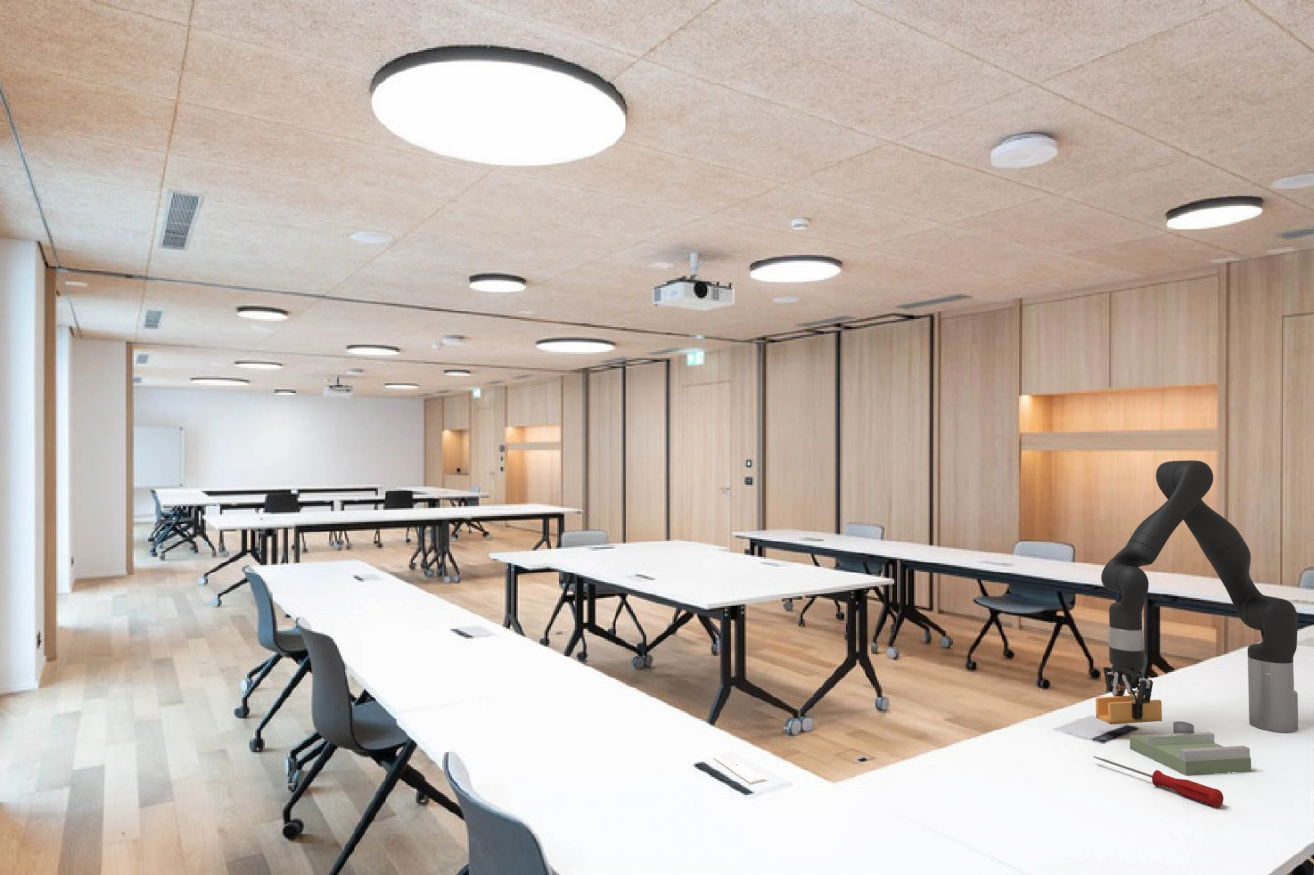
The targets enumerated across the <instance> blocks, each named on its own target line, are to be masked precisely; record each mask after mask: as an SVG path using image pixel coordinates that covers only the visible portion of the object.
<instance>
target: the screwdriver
mask: <svg viewBox="0 0 1314 875" xmlns="http://www.w3.org/2000/svg"><path fill="white" fill-rule="evenodd" d="M1093 758H1094V759H1097V760H1100V761H1102V762H1104V763H1108V764H1111V765H1113V766H1116V767H1119V768H1122V769H1125V770H1128V771H1132V772H1133V773H1137V774H1140V775H1143V776H1145V777H1148V778H1151V782H1152V784H1153V786H1154V787H1164V788H1166V789H1170V790H1172V791H1175V792H1176V793H1178V794H1180V795H1182V796H1183V797H1186V798H1189V799H1191V800H1194V801H1197V802H1200V803H1203V804H1206V805H1209V806H1211V807H1214V808H1220V807H1221V806H1222V805H1223V803H1224V794H1223V792H1222V791H1221V790H1220V789H1218V788H1213V787H1211V786H1207V785H1204V784H1201V783H1198V782H1196V781H1192V780H1190V779H1184V778H1183V779H1182V778H1175V777H1173V776H1169V775H1166V774H1164V773H1163V772H1162V771H1161V770H1158V769H1156V770H1155V769H1154V771H1153V772H1152V774H1150V773H1147V772H1143V771H1141V770H1137V769H1135V768H1132V767H1130V766H1126V765H1123V764H1120V763H1117V762H1114V761H1111V760H1108V759H1105V758H1101V757H1099V756H1093Z"/></svg>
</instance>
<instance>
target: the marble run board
mask: <svg viewBox="0 0 1314 875" xmlns="http://www.w3.org/2000/svg"><path fill="white" fill-rule="evenodd" d="M1172 723H1173V725H1172V726H1173V727H1172V730H1173V733H1193V732H1195V726H1194V724H1193V723H1190V722H1186V721H1179V720H1178V721H1173V722H1172ZM1173 733H1172V734H1173ZM1147 735H1148V734H1138V735H1136V734H1133V735H1129V749H1131V750H1133V751H1134V752H1136V751H1137V753H1139V754H1140V755H1142V756H1144V757H1147V758H1149V759H1151V760H1153V761H1155V762H1158V763H1159V764H1162V765H1164V766H1166V767H1168V768H1170V769H1171V770H1174V771H1176V772H1177V773H1180V774H1182V775H1183V776H1186V777H1187V776H1204V775H1205V776H1206V775H1216V774H1215V773H1224V774H1233V773H1232V772H1241V773H1252V757H1250V758H1232V759H1214V760H1196V761H1184V760H1181V759H1179V749H1191V748H1211V747H1224V745H1221V744H1218V743H1216V742H1214V743H1200V744H1181V745H1161V746H1151V745H1149V744H1147ZM1228 772H1230V773H1228Z"/></svg>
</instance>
